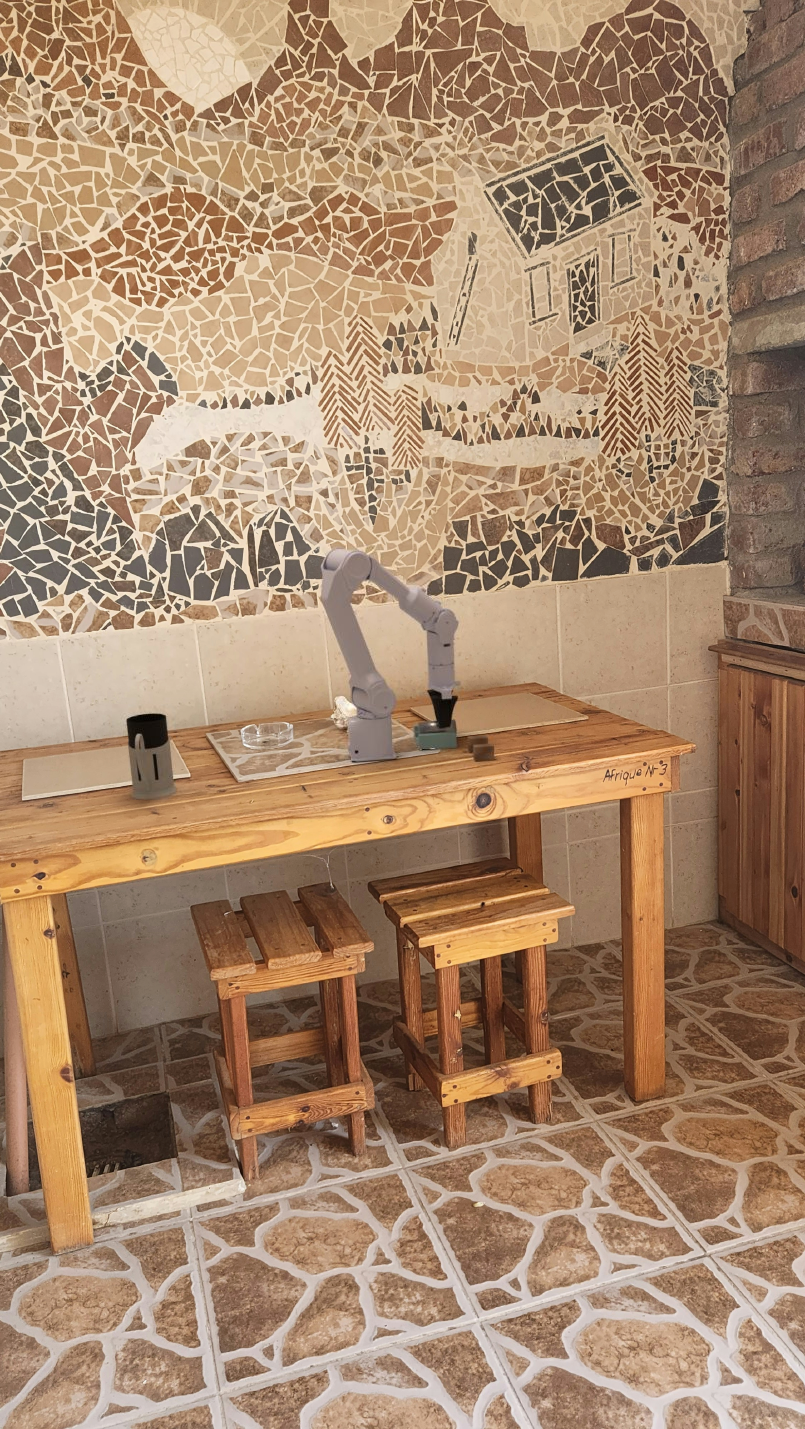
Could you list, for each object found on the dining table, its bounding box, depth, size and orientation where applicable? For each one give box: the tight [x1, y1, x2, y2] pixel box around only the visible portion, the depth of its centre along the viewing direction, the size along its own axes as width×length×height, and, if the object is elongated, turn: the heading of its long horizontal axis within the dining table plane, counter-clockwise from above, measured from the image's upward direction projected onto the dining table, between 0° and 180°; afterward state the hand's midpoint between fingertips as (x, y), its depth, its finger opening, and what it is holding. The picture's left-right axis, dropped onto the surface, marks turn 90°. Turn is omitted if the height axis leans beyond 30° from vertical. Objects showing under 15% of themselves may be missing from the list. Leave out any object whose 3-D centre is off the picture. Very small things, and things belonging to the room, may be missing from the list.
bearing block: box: [467, 734, 495, 762], centre depth 226 cm, size 4×9×3 cm, turn 6°
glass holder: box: [125, 712, 178, 801], centre depth 207 cm, size 9×14×15 cm, turn 1°
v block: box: [413, 724, 458, 750], centre depth 236 cm, size 8×10×3 cm
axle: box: [417, 718, 458, 737], centre depth 236 cm, size 8×4×4 cm, turn 96°
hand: (443, 724), depth 236 cm, fingers open, 5 cm apart
